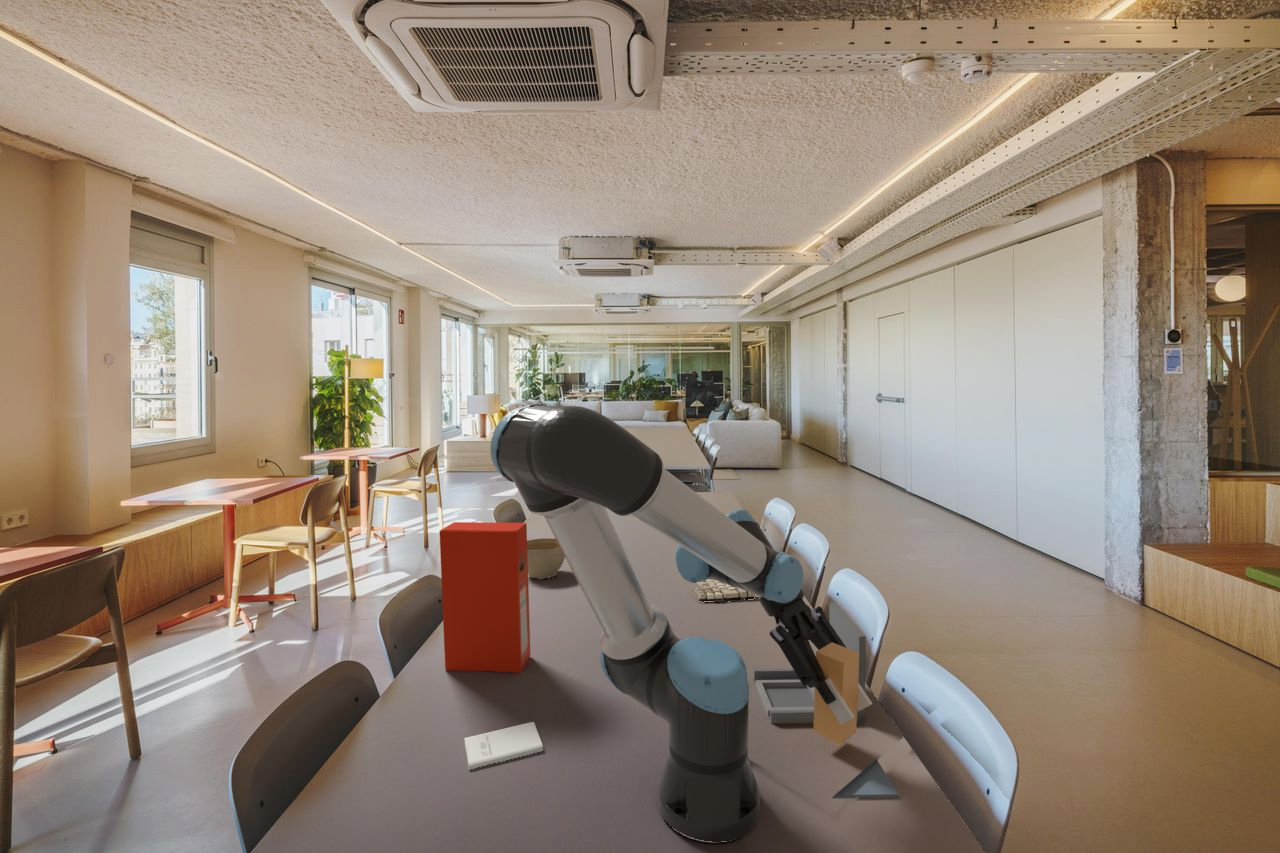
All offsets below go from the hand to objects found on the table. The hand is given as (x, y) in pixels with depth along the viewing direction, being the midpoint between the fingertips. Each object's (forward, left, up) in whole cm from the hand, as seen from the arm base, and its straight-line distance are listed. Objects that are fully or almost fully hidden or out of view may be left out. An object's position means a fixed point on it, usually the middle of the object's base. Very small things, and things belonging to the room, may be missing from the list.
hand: (856, 713), depth 93 cm
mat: (-1, -2, -9) cm, 9 cm away
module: (-3, +3, -5) cm, 6 cm away
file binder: (-70, +37, -9) cm, 80 cm away
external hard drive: (-60, +7, -10) cm, 61 cm away
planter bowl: (-68, +99, -9) cm, 120 cm away
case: (-3, +18, -9) cm, 20 cm away
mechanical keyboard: (-11, +91, -10) cm, 92 cm away
